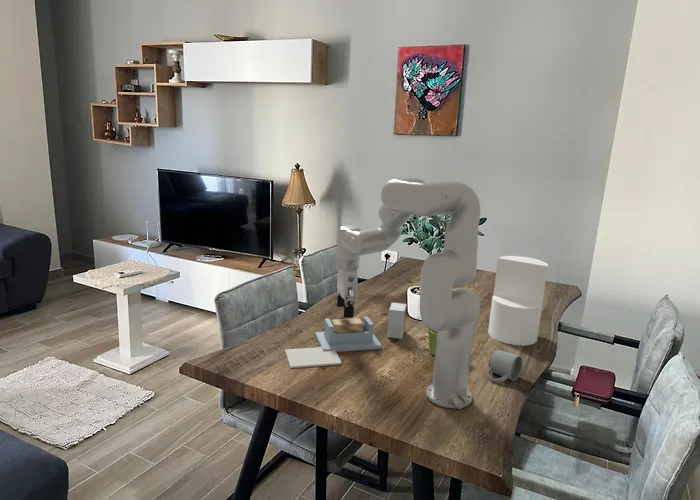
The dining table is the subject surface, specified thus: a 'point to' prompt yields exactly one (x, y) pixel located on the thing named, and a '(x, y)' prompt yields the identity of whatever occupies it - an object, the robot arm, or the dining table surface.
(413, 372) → the dining table surface
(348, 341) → the jig
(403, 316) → the small box
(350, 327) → the oak block
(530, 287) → the cylinder
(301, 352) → the mat
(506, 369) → the ceramic mug
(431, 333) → the plant pot
